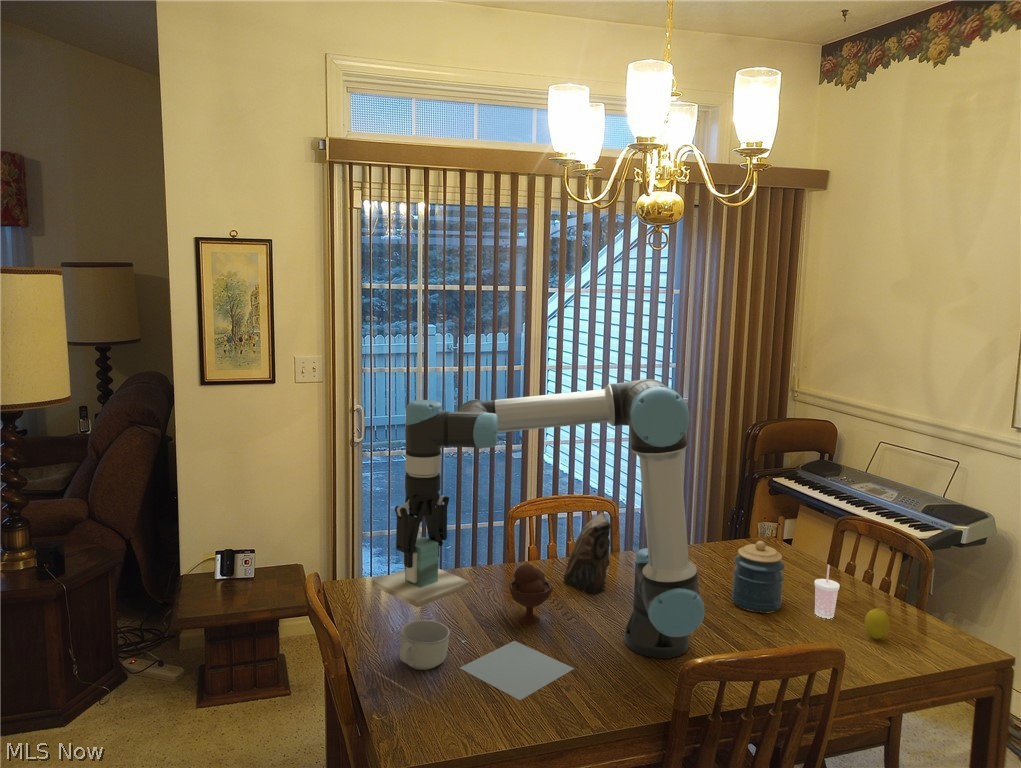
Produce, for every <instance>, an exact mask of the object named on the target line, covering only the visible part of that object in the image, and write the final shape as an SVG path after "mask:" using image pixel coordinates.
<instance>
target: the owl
mask: <svg viewBox="0 0 1021 768" xmlns="http://www.w3.org/2000/svg"><path fill="white" fill-rule="evenodd" d="M611 528H612V526H611V523H610V521H609V519H608V518H606V515H605V513H604V512H603V511H601V512H600V513H599V514H597V515H596V516H594V517H593V518H591V519H590V520H589V521H588V522H587V523H586V524H585V525H584V526H583V528H582V529H581V531H580V533H579V535H578V537H577V538H576V539H575V543H574V547H573V548H572V551H571V553H570V555H569V558H568V562H567V566H566V569H565V572H564V574H563V581H562V583H563V584H565V585H568V586H571V587H572V588H575V589H576V590H578V591H582V592H584V593H586V594H588V595H592V596H593V595H594V596H595V595H599V594H601V593H604V592H605V589H604V588H606V586H605V585H606V584H607V583H606V577H607V569H608V567H609V566H610V563H611V561H610V545H611V541H610V538H609V536H610V530H611Z"/></svg>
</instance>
